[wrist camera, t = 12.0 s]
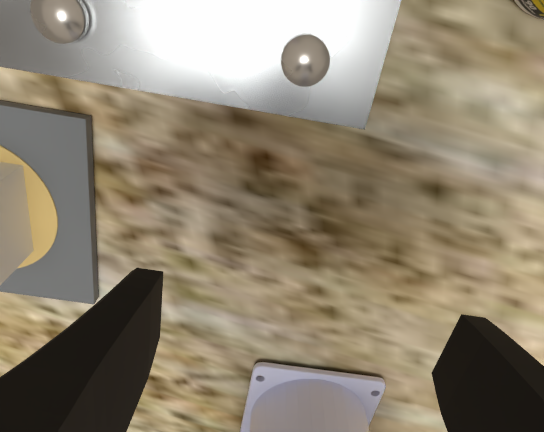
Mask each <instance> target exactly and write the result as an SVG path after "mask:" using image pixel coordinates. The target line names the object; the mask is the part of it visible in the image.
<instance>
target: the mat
mask: <svg viewBox="0 0 544 432" xmlns="http://www.w3.org/2000/svg"><path fill="white" fill-rule="evenodd" d="M0 162H5V163H11V164H18V165H23V170H24V178H25V186H26V194H27V202H28V210H29V218H30V226H31V234H32V241H33V249H34V251H33V252H32V253H31V254H30V255H29V256H28V257H27V258H26V259H25V260H24V261H23V262H22V263H21V264H20V265H19V267H18V268H17V269H16V270H15V271H14V272H13V273H12V274H11V275H10V276H9V277H8V278H7V279H6V280H5V281H4V282H3V283H2V284H1V285H0V291H1V292H8V293H15V294H22V295H30V296H37V297H44V298H52V299H59V300H66V301H74V302H81V303H88V304H95V302H96V300H97V299H98V272H97V246H96V221H95V196H94V171H93V145H92V120H91V115H85V114H79V113H73V112H67V111H61V110H55V109H49V108H43V107H37V106H31V105H25V104H19V103H13V102H7V101H1V100H0Z"/></svg>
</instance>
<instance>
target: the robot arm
mask: <svg viewBox="0 0 544 432" xmlns="http://www.w3.org/2000/svg"><path fill="white" fill-rule="evenodd" d="M162 286H163V272H162V271H155V270H148V269H141V268H136V269H134V270H133V271H131V272H130V273H129V274H128V275H127V276H126V277H125V278H124V279H123V280H122V281H121V282H120V283H119V284H117V285H116V286H115V287H114V288H113V289H112V290H111V291H110V292H109V293H108V294H106V295H105V296H104V297H103V298H102V299H101V300H100V301H99V302H97V303H96V304H95V305H94V306H93V307H92V308H90V309H89V310H88V311H87V312H86V313H84V314H83V315H82V316H81V317H80V318H78V319H77V320H76V321H75V322H74V323H72V324H71V325H70V326H69V327H68V328H66V329H65V330H64V331H63V332H61V333H60V334H59V335H57V336H56V337H55V338H53V339H52V340H51V341H49V342H48V343H47V344H46V345H44V346H43V347H42V348H40V349H39V350H38V351H36V352H35V353H34V354H32V355H31V356H30V357H28V358H27V359H26V360H24V361H23V362H21V363H20V364H19V365H17V366H16V367H14V368H13V369H11V370H10V371H9V372H7V373H6V374H4V375H3V376H1V377H0V432H126V431H127V429H128V426H129V424H130V421H131V419H132V416H133V414H134V412H135V409H136V407H137V404H138V402H139V399H140V397H141V394H142V392H143V389H144V387H145V384H146V382H147V379H148V377H149V373H150V370H151V366H152V363H153V359H154V356H155V352H156V349H157V345H158V341H159V338H160V324H161V305H162ZM432 376H433V381H434V386H435V390H436V395H437V399H438V403H439V407H440V411H441V414H442V417H443V420H444V423H445V426H446V428H447V431H448V432H544V366H543V365H542V364H540V363H539V362H538V361H537V360H536V359H535V358H534V357H532V356H531V355H530V354H529V353H528V352H527V351H525V350H524V349H523V348H522V347H521V346H520V345H518V344H517V343H516V342H515V341H514V340H513V339H511V338H510V337H509V336H508V335H507V334H505V333H504V332H503V331H502V330H501V329H499V328H498V327H497V326H495V325H494V324H493V323H492V322H490V321H489V320H488V319H486V318H482V317H475V316H469V315H462V314H461V316H460V318H459V320H458V322H457V324H456V326H455V328H454V330H453V332H452V334H451V336H450V338H449V340H448V342H447V344H446V346H445V348H444V350H443V352H442V354H441V356H440V358H439V360H438V362H437V364H436V365H435V367H434V369H433V371H432ZM385 388H386V385H385V381H384V380H383V379H382V378H379V377H373V376H366V375H358V374H350V373H343V372H335V371H327V370H320V369H312V368H304V367H297V366H289V365H282V364H274V363H266V362H259V363H256V364H255V365H254V367H253V371H252V375H251V380H250V385H249V390H248V395H247V399H246V404H245V409H244V414H243V418H242V423H241V428H240V432H369V424H370V422H371V420H372V418H373V415H374V413H375V411H376V409H377V406H378V404H379V402H380V400H381V397H382V395H383V393H384V390H385Z"/></svg>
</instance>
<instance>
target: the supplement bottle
mask: <svg viewBox="0 0 544 432" xmlns="http://www.w3.org/2000/svg"><path fill="white" fill-rule="evenodd" d="M514 1H515V3H516V4H517V5H518V6H519V7H520V8H521V9H522V10H523V11H525V12H526V13H528V14H530V15H532V16H534V17H536V18H539V19H543V20H544V0H514Z"/></svg>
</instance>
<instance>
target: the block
mask: <svg viewBox="0 0 544 432" xmlns="http://www.w3.org/2000/svg"><path fill="white" fill-rule="evenodd" d="M33 251H34V249H33V241H32V234H31V226H30V218H29V210H28V202H27V194H26V186H25V178H24V170H23V165H18V164H11V163H5V162H0V285H1V284H2V283H3V282H4V281H5V280H6V279H7V278H8V277H9V276H10V275H11V274H12V273H13V272H14V271H15V270H16V269H17V268H18V267H19V265H20V264H21V263H22V262H23V261H24V260H25V259H26V258H27V257H28V256H29V255H30V254H31V253H32V252H33Z"/></svg>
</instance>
